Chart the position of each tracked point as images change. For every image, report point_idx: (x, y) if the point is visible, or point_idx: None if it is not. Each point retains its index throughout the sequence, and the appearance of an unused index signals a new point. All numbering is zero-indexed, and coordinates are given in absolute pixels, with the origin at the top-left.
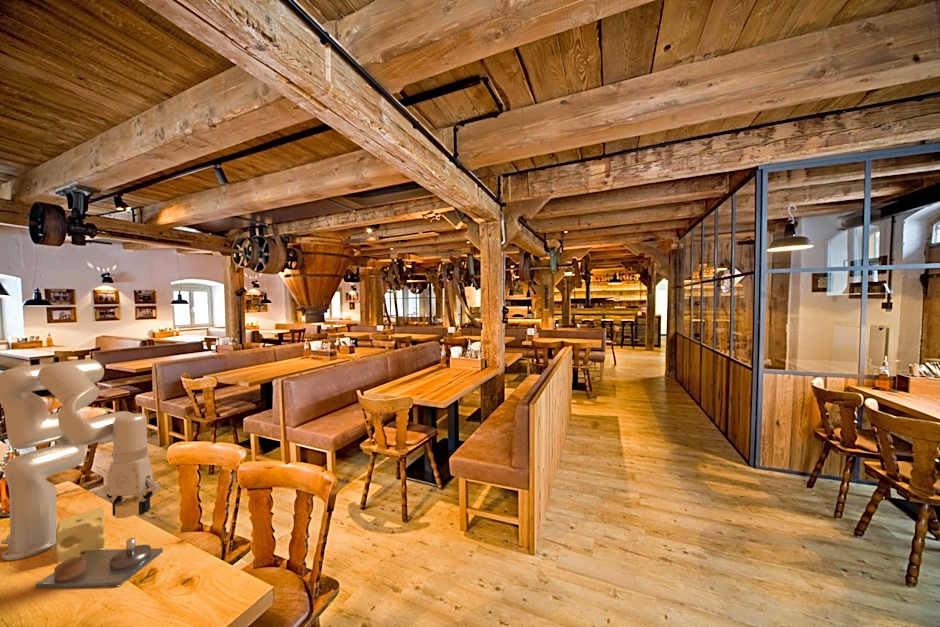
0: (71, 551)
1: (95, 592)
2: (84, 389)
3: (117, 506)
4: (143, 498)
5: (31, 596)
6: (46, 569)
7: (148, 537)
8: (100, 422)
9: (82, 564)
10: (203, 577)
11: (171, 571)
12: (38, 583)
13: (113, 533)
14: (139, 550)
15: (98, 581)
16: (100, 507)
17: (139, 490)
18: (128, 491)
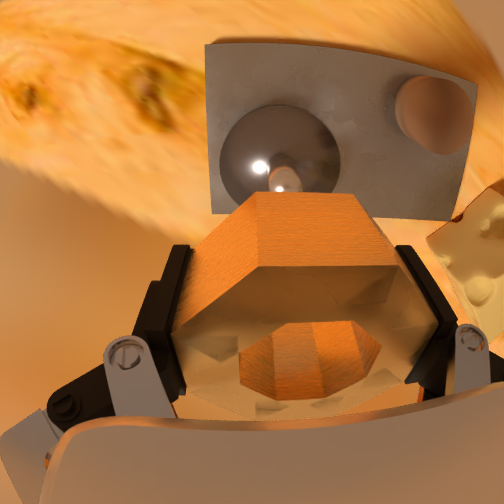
0: (482, 211)
1: (269, 21)
2: None
3: (371, 265)
4: (109, 365)
5: (453, 48)
6: (495, 164)
7: None
8: None
9: (407, 113)
10: (7, 117)
11: (97, 121)
12: (473, 85)
13: None
14: (266, 187)
15: (291, 48)
16: (490, 341)
17: (53, 467)
18: (236, 499)
